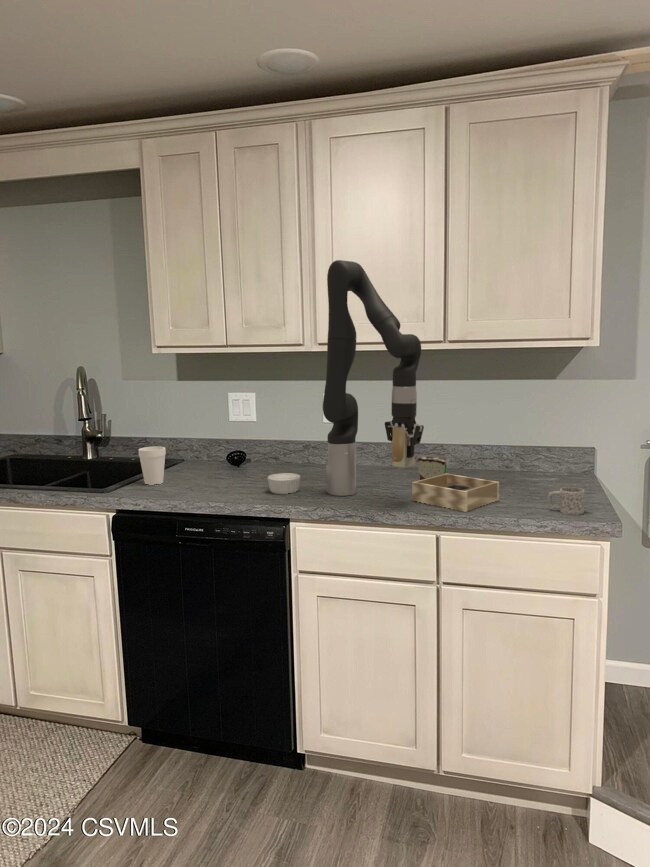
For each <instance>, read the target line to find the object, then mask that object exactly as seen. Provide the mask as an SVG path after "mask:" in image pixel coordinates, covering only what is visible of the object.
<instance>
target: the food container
mask: <svg viewBox="0 0 650 867" xmlns="http://www.w3.org/2000/svg"><path fill="white" fill-rule="evenodd" d="M415 462H416V463H417V469H418V471H417V472H418V481H419V480H423V479H427V478H431V477H435V476H438V475H442V474H446V473H447V474H448V472H447V470H448V466H449V465H450V461H449V458H448V457H447V456H443V455H436V454H434V455H433V454H426V455H425V454H424V455H417V457H416V461H415Z"/></svg>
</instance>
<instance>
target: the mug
mask: <svg viewBox="0 0 650 867" xmlns="http://www.w3.org/2000/svg"><path fill="white" fill-rule="evenodd" d="M585 492H586V491H585V489H584V488H582V487H576V486H565V487H564V486H563V487H560V489H559V490H554V491H550V492H548V495H547V505H548V507H549V508H552V509H556V510H559V512H560V513H562V514H564V515H570V516H578V515H577V514H580V515H583V514H584V513H585V495H586V494H585ZM553 496H559V504H554V503H552V497H553Z"/></svg>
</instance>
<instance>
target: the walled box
mask: <svg viewBox="0 0 650 867" xmlns="http://www.w3.org/2000/svg"><path fill="white" fill-rule="evenodd" d="M497 500H500V481H495V480H488V479H484V478H478V477H471V476H464V475H459V474H451V473H448V472H447V473H446V474H442V475H438V476H435V477H431V478H427V479H423V480H419V479H418V480H416V481H412V482H411V501H412V502H415V501H417V502H416V503H419V502H421V503H420V504H424V503H426V504H425V505H429V504H431V506H434V505H437V506H436V507H439V506H442V507H441V508H444V507H446V508H445V509H448V508H451V509H450V510H453V509H455V511H458V510H459V511H458V512H463V513H466V512H469V510H470V511H472V509H473V510H475V509H474V508H476V509H478V508H477V507H479V508H481V507H480V506H482V507H484V506H483V505H485V506H487V505H486V504H488V503H491V502H494V501H497ZM497 502H498V501H497ZM494 503H495V502H494ZM491 504H492V503H491ZM488 505H489V504H488Z"/></svg>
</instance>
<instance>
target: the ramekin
mask: <svg viewBox="0 0 650 867" xmlns="http://www.w3.org/2000/svg"><path fill="white" fill-rule="evenodd" d="M300 480H301V475H300V474H298V473H293V472H292V473H291V472H290V473H287V472H282V473H274V474H270V475H268V476H267V481H268V486H269V487H268V488H269V491H270V492H271V493H272V494H275V495H289V494H288V493H291V494H294V492H295V493H297V492H298V491H299V488H300V487H299V486H300ZM296 491H297V492H296Z"/></svg>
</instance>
